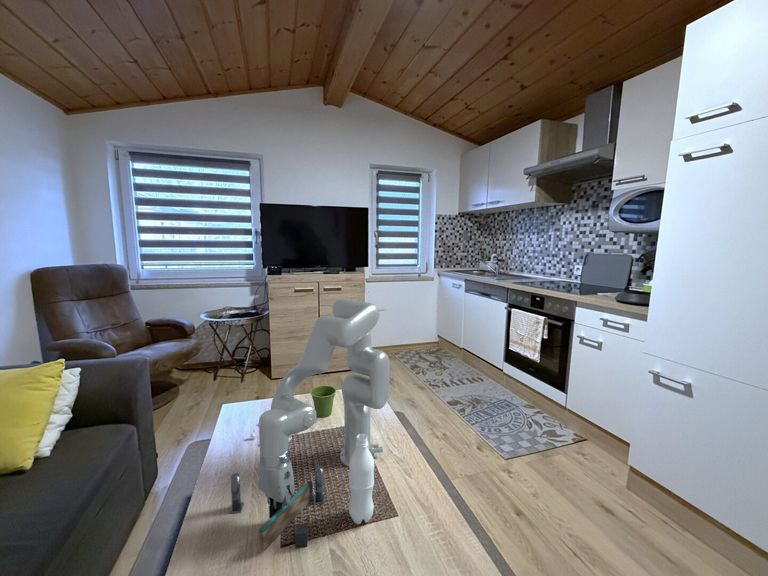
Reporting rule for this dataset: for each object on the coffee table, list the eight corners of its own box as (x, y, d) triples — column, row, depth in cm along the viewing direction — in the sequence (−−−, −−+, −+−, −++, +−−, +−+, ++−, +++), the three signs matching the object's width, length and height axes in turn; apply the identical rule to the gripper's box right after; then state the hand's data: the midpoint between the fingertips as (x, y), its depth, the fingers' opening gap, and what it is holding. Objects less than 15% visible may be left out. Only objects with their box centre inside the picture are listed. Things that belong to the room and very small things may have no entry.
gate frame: (324, 495, 102) (324, 464, 100) (323, 544, 85) (323, 508, 84) (232, 505, 97) (231, 472, 96) (212, 559, 81) (210, 520, 79)
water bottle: (360, 503, 99) (361, 426, 96) (378, 515, 95) (380, 435, 91) (343, 517, 94) (343, 437, 90) (361, 532, 89) (362, 447, 86)
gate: (309, 496, 100) (309, 478, 100) (313, 497, 100) (313, 479, 99) (259, 548, 83) (258, 527, 82) (264, 551, 82) (263, 530, 81)
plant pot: (309, 409, 155) (309, 386, 153) (334, 406, 158) (334, 384, 157) (311, 422, 144) (311, 398, 142) (338, 418, 147) (338, 395, 146)
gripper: (304, 458, 88) (304, 519, 90) (268, 440, 96) (269, 496, 98) (282, 474, 82) (283, 539, 84) (245, 453, 89) (247, 513, 92)
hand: (275, 516), depth 91 cm, fingers closed
